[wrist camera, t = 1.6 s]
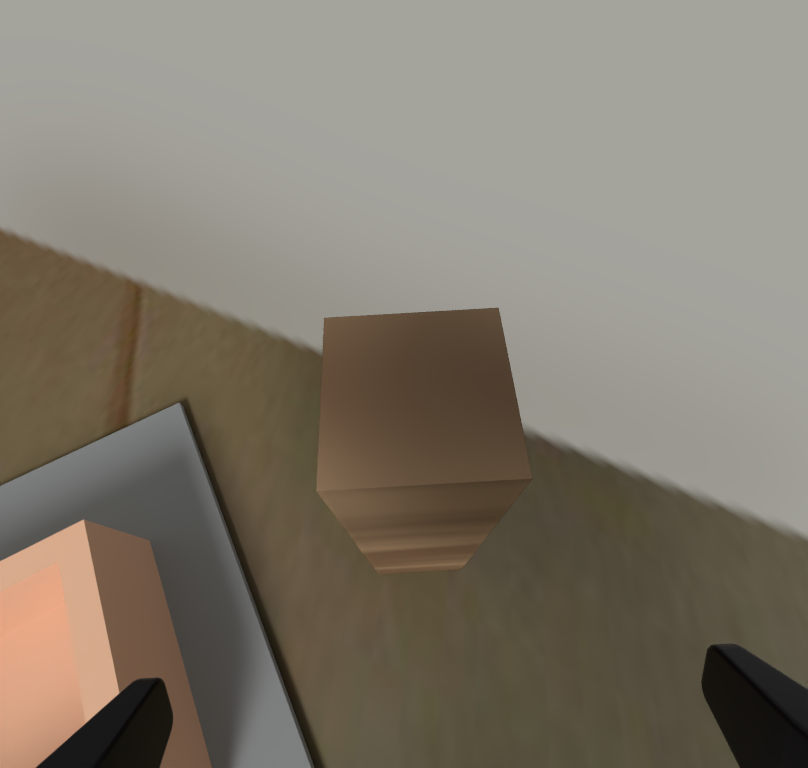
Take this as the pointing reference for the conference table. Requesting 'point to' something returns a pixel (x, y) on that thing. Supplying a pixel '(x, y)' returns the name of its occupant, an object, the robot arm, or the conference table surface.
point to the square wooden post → (419, 435)
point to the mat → (174, 574)
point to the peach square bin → (85, 642)
